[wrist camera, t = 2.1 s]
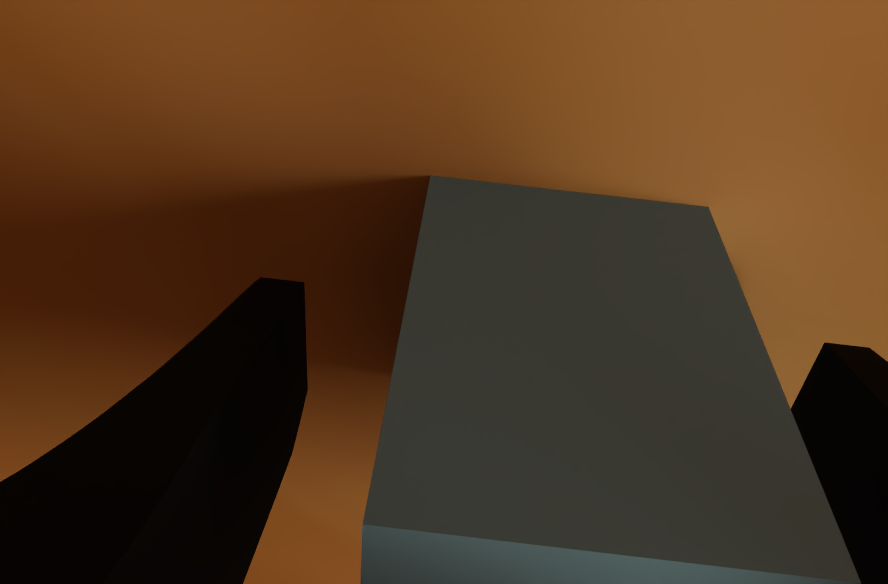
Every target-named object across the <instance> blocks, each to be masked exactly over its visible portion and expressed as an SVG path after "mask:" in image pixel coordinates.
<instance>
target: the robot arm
mask: <svg viewBox="0 0 888 584" xmlns="http://www.w3.org/2000/svg"><path fill="white" fill-rule="evenodd" d="M307 390H308V387H307V355H306V323H305V291H304V282H297V281H288V280H279V279H271V278H262V277H261V278H259V279H258V280H257V281H255V282H254V283H253V284H252V285H251V286H250V287H249V288H247V289H246V290H245V291H244V292H243V293H242V294H241V295H240V296H239V297H238V298H237V299H236V300H235V301H234V302H233V303H232V304H231V305H229V306H228V307H227V308H226V309H225V310H224V311H223V312H222V313H221V314H220V315H219V316H218V317H217V318H216V319H215V320H213V321H212V322H211V323H210V324H209V325H208V326H207V327H206V328H205V329H204V330H203V331H202V332H200V333H199V334H198V335H197V336H196V337H195V338H194V339H193V340H192V341H190V342H189V343H188V344H187V345H186V346H185V347H183V348H182V349H181V350H180V351H179V352H178V353H177V354H175V355H174V356H173V357H172V358H171V359H170V360H169V361H167V362H166V363H165V364H164V365H163V366H162V367H161V368H159V369H158V370H157V371H156V372H155V373H153V374H152V375H151V376H150V377H149V378H147V379H146V380H145V381H144V382H142V383H141V384H140V385H138V386H137V387H136V388H135V389H133V390H132V391H131V392H130V393H128V394H127V395H126V396H124V397H123V398H122V399H121V400H119V401H118V402H117V403H116V404H114V405H113V406H112V407H110V408H109V409H108V410H107V411H105V412H104V413H103V414H101V415H100V416H99V417H97V418H96V419H95V420H93V421H92V422H91V423H89V424H88V425H86V426H85V427H84V428H82V429H81V430H79V431H78V432H77V433H75V434H74V435H72V436H71V437H70V438H68V439H67V440H65V441H64V442H62V443H61V444H59V445H58V446H56V447H55V448H53V449H52V450H50V451H49V452H47V453H46V454H44V455H43V456H41V457H40V458H38V459H37V460H35V461H34V462H32V463H31V464H29V465H28V466H26V467H24V468H23V469H21V470H20V471H18V472H16V473H15V474H13V475H11V476H10V477H8V478H6V479H4V480H3V481H1V482H0V584H243V582H244V579H245V577H246V574H247V572H248V569H249V566H250V564H251V561H252V558H253V556H254V553H255V551H256V548H257V545H258V543H259V540H260V537H261V535H262V532H263V529H264V527H265V524H266V522H267V519H268V516H269V514H270V511H271V508H272V506H273V503H274V500H275V498H276V495H277V492H278V490H279V487H280V484H281V482H282V479H283V476H284V474H285V471H286V468H287V466H288V463H289V460H290V457H291V455H292V452H293V448H294V444H295V440H296V436H297V432H298V428H299V424H300V420H301V415H302V411H303V407H304V403H305V398H306V394H307ZM791 412H792V414H793V417H794V419H795V422H796V424H797V427H798V429H799V431H800V434H801V436H802V439H803V441H804V444H805V446H806V449H807V451H808V454H809V456H810V459H811V461H812V463H813V466H814V468H815V471H816V473H817V476H818V478H819V481H820V483H821V486H822V488H823V491H824V493H825V496H826V498H827V500H828V503H829V505H830V508H831V510H832V513H833V515H834V518H835V520H836V523H837V525H838V528H839V530H840V532H841V535H842V537H843V540H844V542H845V545H846V547H847V550H848V552H849V555H850V557H851V560H852V562H853V564H854V567H855V569H856V572H857V574H858V577H859V579H860V582H861V584H888V362H887V361H886V360H885V359H883V358H882V357H881V356H879V355H878V354H877V353H875V352H874V351H873V350H872V349H870V348H867V347H859V346H850V345H841V344H833V343H824V345H823V347H822V349H821V350H820V352H819V354H818V356H817V358H816V360H815V362H814V364H813V366H812V368H811V370H810V372H809V374H808V376H807V378H806V380H805V382H804V384H803V386H802V388H801V390H800V392H799V394H798V396H797V398H796V400H795V402H794V404H793V406H792V408H791Z"/></svg>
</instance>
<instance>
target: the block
mask: <svg viewBox="0 0 888 584" xmlns="http://www.w3.org/2000/svg"><path fill="white" fill-rule="evenodd" d="M361 584H861V582H860V579H859V577H858V574H857V572H856V569H855V567H854V564H853V562H852V560H851V557H850V555H849V552H848V550H847V547H846V545H845V542H844V540H843V537H842V535H841V532H840V530H839V528H838V525H837V523H836V520H835V518H834V515H833V513H832V510H831V508H830V505H829V503H828V500H827V498H826V496H825V493H824V491H823V488H822V486H821V483H820V481H819V478H818V476H817V473H816V471H815V468H814V466H813V463H812V461H811V459H810V456H809V454H808V451H807V449H806V446H805V444H804V441H803V439H802V436H801V434H800V431H799V429H798V427H797V424H796V422H795V419H794V417H793V414H792V412H791V409H790V407H789V404H788V402H787V399H786V397H785V395H784V392H783V390H782V387H781V385H780V382H779V380H778V377H777V375H776V372H775V370H774V367H773V365H772V363H771V360H770V358H769V355H768V353H767V350H766V348H765V345H764V343H763V340H762V338H761V335H760V333H759V330H758V328H757V326H756V323H755V321H754V318H753V316H752V313H751V311H750V308H749V306H748V303H747V301H746V298H745V296H744V294H743V291H742V289H741V286H740V284H739V281H738V279H737V276H736V274H735V271H734V269H733V266H732V264H731V262H730V259H729V257H728V254H727V252H726V249H725V247H724V244H723V242H722V239H721V237H720V234H719V232H718V229H717V227H716V225H715V222H714V220H713V217H712V215H711V212H710V210H709V207H703V206H695V205H686V204H677V203H668V202H659V201H651V200H642V199H633V198H624V197H615V196H607V195H598V194H589V193H580V192H571V191H563V190H554V189H545V188H536V187H527V186H519V185H510V184H501V183H492V182H483V181H474V180H466V179H457V178H448V177H439V176H430V180H429V185H428V191H427V196H426V201H425V206H424V211H423V216H422V222H421V227H420V232H419V237H418V242H417V247H416V252H415V258H414V263H413V268H412V273H411V278H410V283H409V288H408V294H407V299H406V304H405V309H404V314H403V319H402V324H401V330H400V335H399V340H398V345H397V350H396V355H395V361H394V366H393V371H392V376H391V381H390V386H389V391H388V397H387V402H386V407H385V412H384V417H383V422H382V427H381V433H380V438H379V443H378V448H377V453H376V458H375V463H374V469H373V474H372V479H371V484H370V489H369V494H368V500H367V505H366V510H365V515H364V520H363V529H362V558H361Z"/></svg>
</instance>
